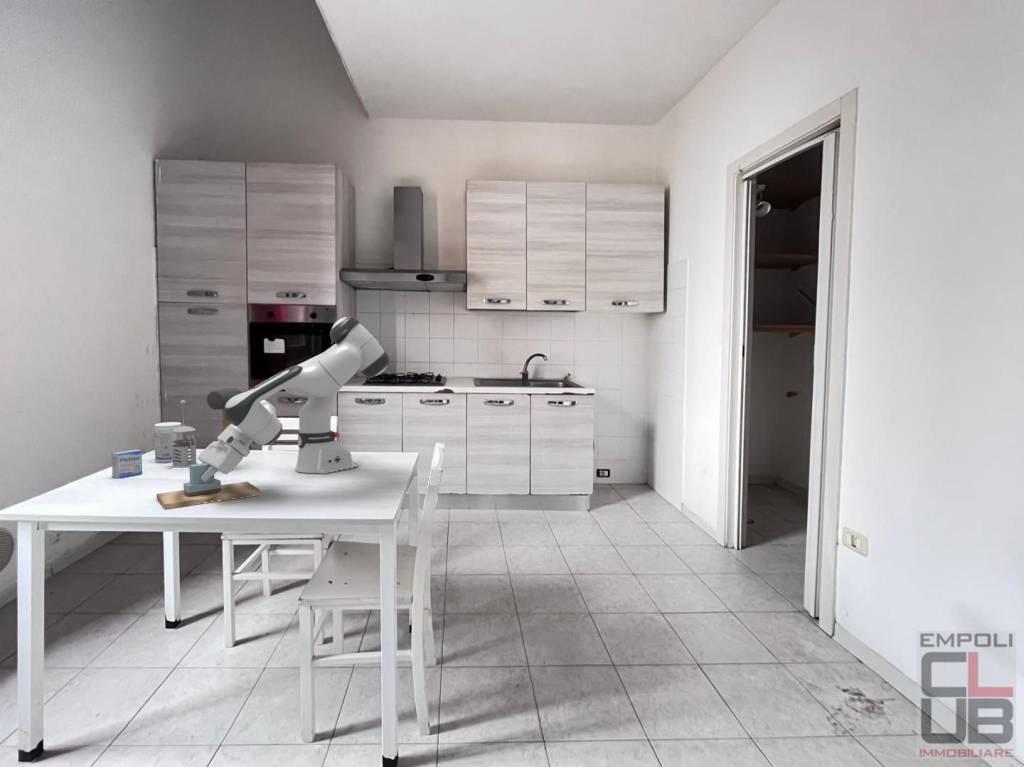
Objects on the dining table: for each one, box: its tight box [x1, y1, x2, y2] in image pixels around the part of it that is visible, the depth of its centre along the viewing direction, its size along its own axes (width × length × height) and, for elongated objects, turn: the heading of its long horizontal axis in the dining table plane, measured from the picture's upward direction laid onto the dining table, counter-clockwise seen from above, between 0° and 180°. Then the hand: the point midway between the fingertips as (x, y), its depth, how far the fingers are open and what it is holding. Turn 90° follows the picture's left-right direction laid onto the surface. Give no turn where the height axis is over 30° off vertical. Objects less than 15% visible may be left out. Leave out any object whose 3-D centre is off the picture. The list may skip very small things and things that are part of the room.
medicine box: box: [111, 449, 143, 479], centre depth 208 cm, size 8×4×9 cm, turn 148°
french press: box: [170, 399, 199, 469], centre depth 223 cm, size 10×12×25 cm
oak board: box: [156, 481, 262, 510], centre depth 183 cm, size 26×14×2 cm, turn 129°
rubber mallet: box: [206, 387, 243, 433], centre depth 218 cm, size 12×8×30 cm, turn 169°
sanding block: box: [183, 462, 222, 496], centre depth 181 cm, size 9×5×8 cm, turn 134°
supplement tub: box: [153, 421, 184, 464], centre depth 233 cm, size 10×10×15 cm
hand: (199, 478), depth 181 cm, fingers closed on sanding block, 3 cm apart
